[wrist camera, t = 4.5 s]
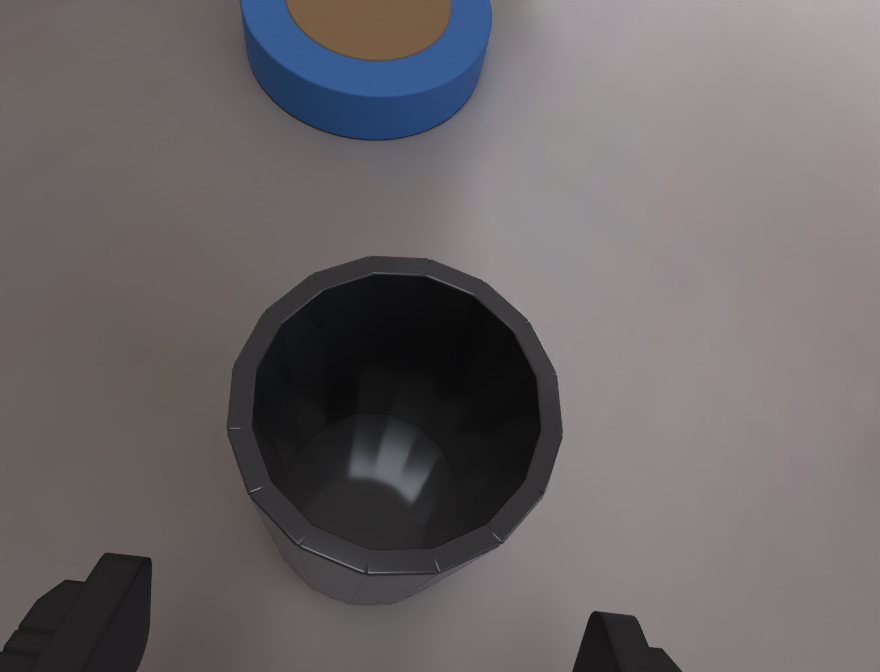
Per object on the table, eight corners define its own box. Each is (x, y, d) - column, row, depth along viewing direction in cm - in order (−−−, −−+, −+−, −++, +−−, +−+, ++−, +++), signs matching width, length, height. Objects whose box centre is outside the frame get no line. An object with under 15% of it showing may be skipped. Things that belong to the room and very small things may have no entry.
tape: (425, -51, 33) (432, -105, 31) (518, 108, 30) (534, 62, 27) (215, -14, 30) (205, -70, 28) (293, 167, 27) (290, 120, 25)
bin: (422, 380, 24) (477, 221, 15) (500, 554, 22) (618, 490, 13) (243, 446, 22) (185, 311, 13) (311, 642, 20) (297, 640, 11)
